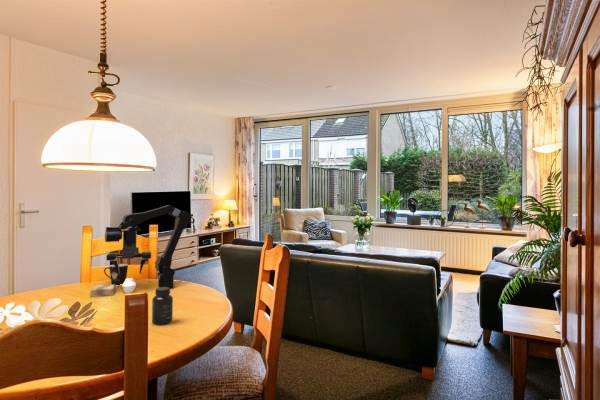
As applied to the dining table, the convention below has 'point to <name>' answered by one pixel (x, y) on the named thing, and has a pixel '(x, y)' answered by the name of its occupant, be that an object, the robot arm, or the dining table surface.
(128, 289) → the muffin
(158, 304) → the supplement bottle
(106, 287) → the brown flat block
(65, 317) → the dining table surface
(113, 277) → the coffee mug
